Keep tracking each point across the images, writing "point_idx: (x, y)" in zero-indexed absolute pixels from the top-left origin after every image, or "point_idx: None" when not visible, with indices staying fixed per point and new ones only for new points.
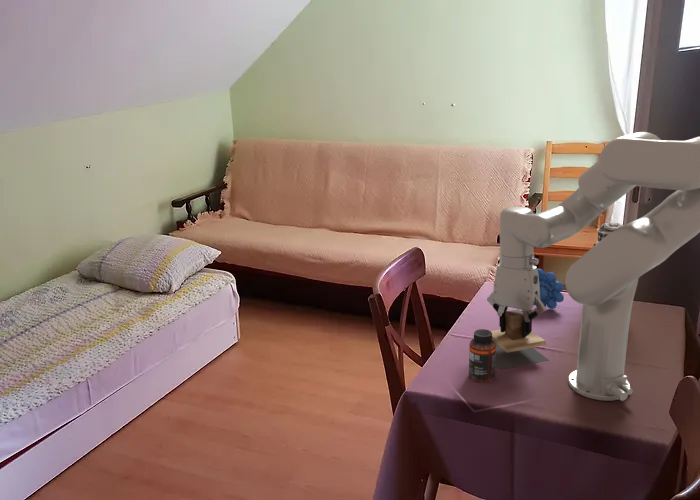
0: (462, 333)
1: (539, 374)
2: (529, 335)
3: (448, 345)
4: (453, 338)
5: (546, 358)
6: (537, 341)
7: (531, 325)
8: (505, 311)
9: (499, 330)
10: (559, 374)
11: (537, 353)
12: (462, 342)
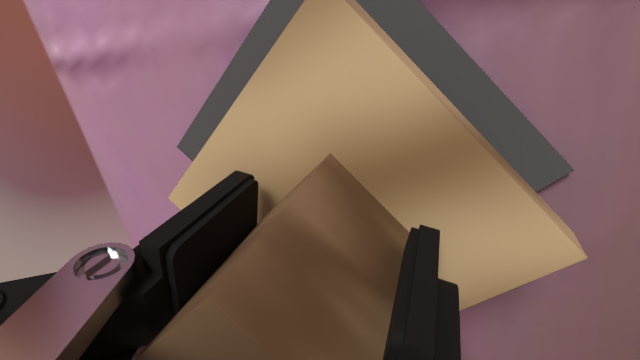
0: (67, 21)
1: (513, 294)
2: (432, 191)
3: (109, 165)
4: (80, 96)
5: (554, 155)
6: (512, 278)
7: (457, 336)
8: (126, 309)
9: (213, 156)
10: (628, 278)
11: (489, 109)
12: (125, 118)
